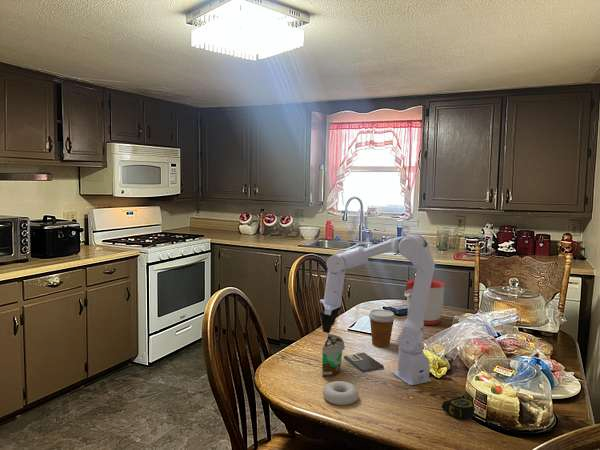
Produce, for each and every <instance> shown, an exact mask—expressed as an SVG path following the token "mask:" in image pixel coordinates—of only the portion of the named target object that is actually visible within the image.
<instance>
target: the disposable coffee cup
mask: <svg viewBox="0 0 600 450" xmlns="http://www.w3.org/2000/svg"><path fill="white" fill-rule="evenodd" d="M368 317H369V321H370V322H369V323H370V333H371V345H373V346H374V347H376V348H388V347H389V346H390V344H391V339H392V338H391V337H392V332H393V327H394V322H395V320H396V316H395V313H394V312H393V311H391V310H388V309H381V308H380V309H372V310H370V311H369V314H368Z"/></svg>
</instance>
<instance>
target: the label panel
mask: <svg viewBox="0 0 600 450" xmlns="http://www.w3.org/2000/svg"><path fill="white" fill-rule="evenodd" d="M343 359H344V360H345V361H347V362H348V363H350V365H352V366H354V367H355V368H356V369H358V371H360V372H362V373H366V372H372V371H377V370H378V371H379V370H382V369H385V366H384V365H383V364H382V363H380V362H379V361H377V360H376V359H375V358H373V357H372V356H370V355H368V354H367V353H366V352H359V353H353V354H346V355H343Z"/></svg>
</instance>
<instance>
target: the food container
mask: <svg viewBox="0 0 600 450" xmlns="http://www.w3.org/2000/svg"><path fill="white" fill-rule="evenodd" d="M345 346H346V345H345V342H344V339H343V338H342V337H340V336H338V335H336V334H332V333H331V334H330V333H327V339H326V340H325V344H324V346H323V345H322V350H321V353H322V358H321V359H322V367H321V368H322V369H321V370H322V371H321V373H322V374H321V375H322V378H329V377H331V378H332V377H335V376H338V375H339V374H340V373H341V367H342V358H343V351H344V350H345Z"/></svg>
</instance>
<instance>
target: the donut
mask: <svg viewBox="0 0 600 450" xmlns="http://www.w3.org/2000/svg"><path fill="white" fill-rule="evenodd" d="M359 394H360V392H359V390H358V388H357V387H356V385H354V384H352V383H350V382H347V381H343V380H338V381H337V380H336V381H331V382H328V383H327V384H326V385H325V386H324V387H323V389H322V395H323V396H322V397H324V399H325V400H326V401H327V402H329V403H330V404H333V405H335V406H336V405H338V406H348V405H351V404H353V403H355V402H356V401H357V400H358V399H359Z"/></svg>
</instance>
